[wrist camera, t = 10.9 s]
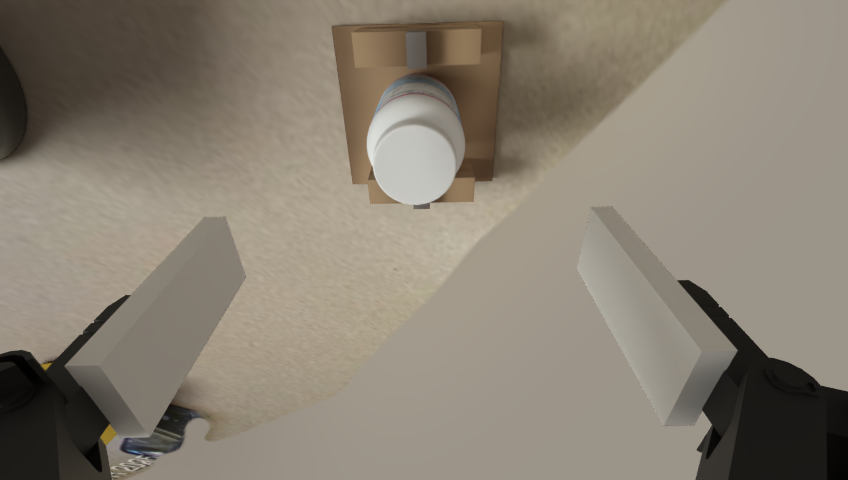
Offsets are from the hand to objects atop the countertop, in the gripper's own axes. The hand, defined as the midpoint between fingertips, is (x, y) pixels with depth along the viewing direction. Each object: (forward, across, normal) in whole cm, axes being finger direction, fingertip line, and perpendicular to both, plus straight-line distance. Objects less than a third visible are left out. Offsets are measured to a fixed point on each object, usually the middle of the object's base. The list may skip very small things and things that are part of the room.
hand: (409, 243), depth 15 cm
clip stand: (+20, 0, 0) cm, 20 cm away
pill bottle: (+19, 0, 0) cm, 19 cm away
